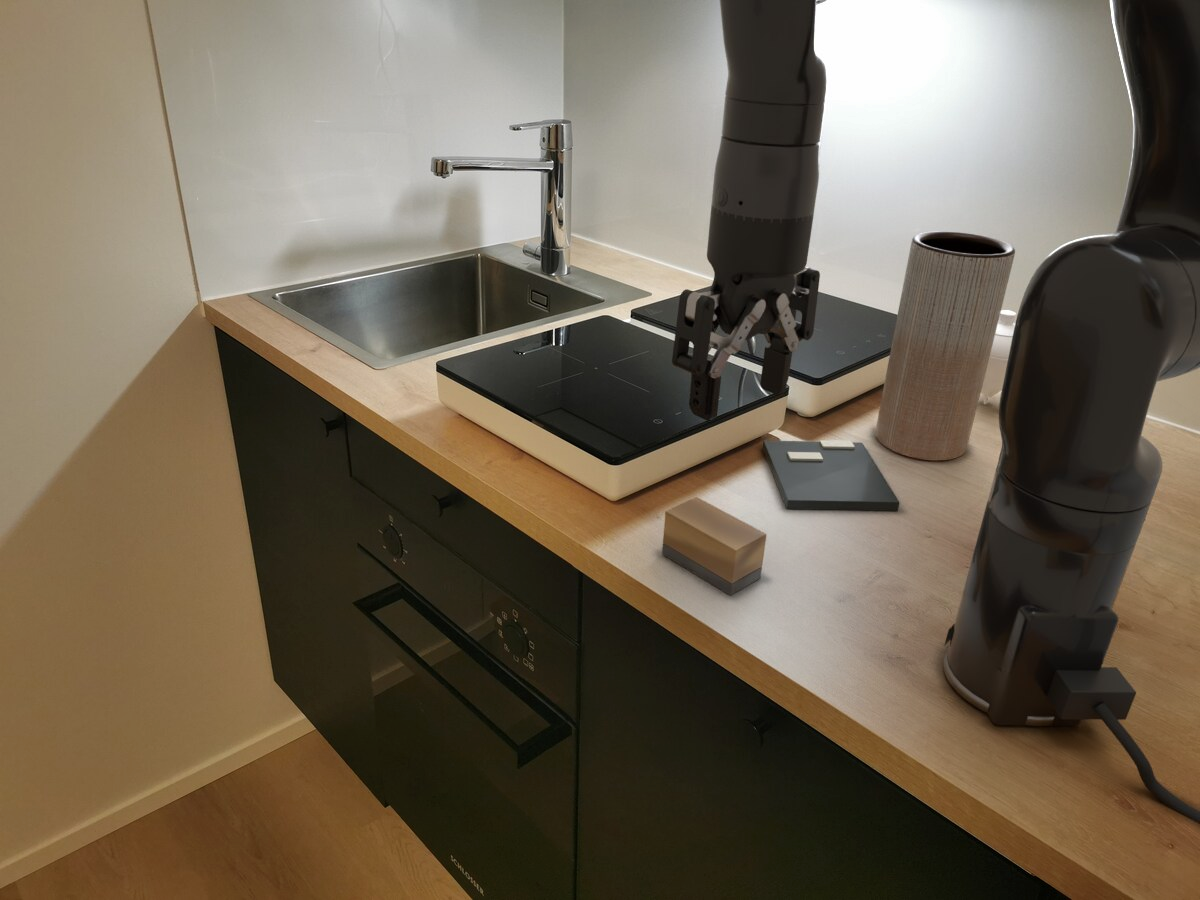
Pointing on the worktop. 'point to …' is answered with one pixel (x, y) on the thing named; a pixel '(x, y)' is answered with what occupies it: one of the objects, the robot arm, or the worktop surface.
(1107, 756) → the worktop surface
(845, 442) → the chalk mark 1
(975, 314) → the planter
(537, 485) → the worktop surface
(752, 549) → the eraser
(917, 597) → the worktop surface
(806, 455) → the cream rectangular block
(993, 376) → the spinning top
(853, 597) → the worktop surface
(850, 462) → the slate board
